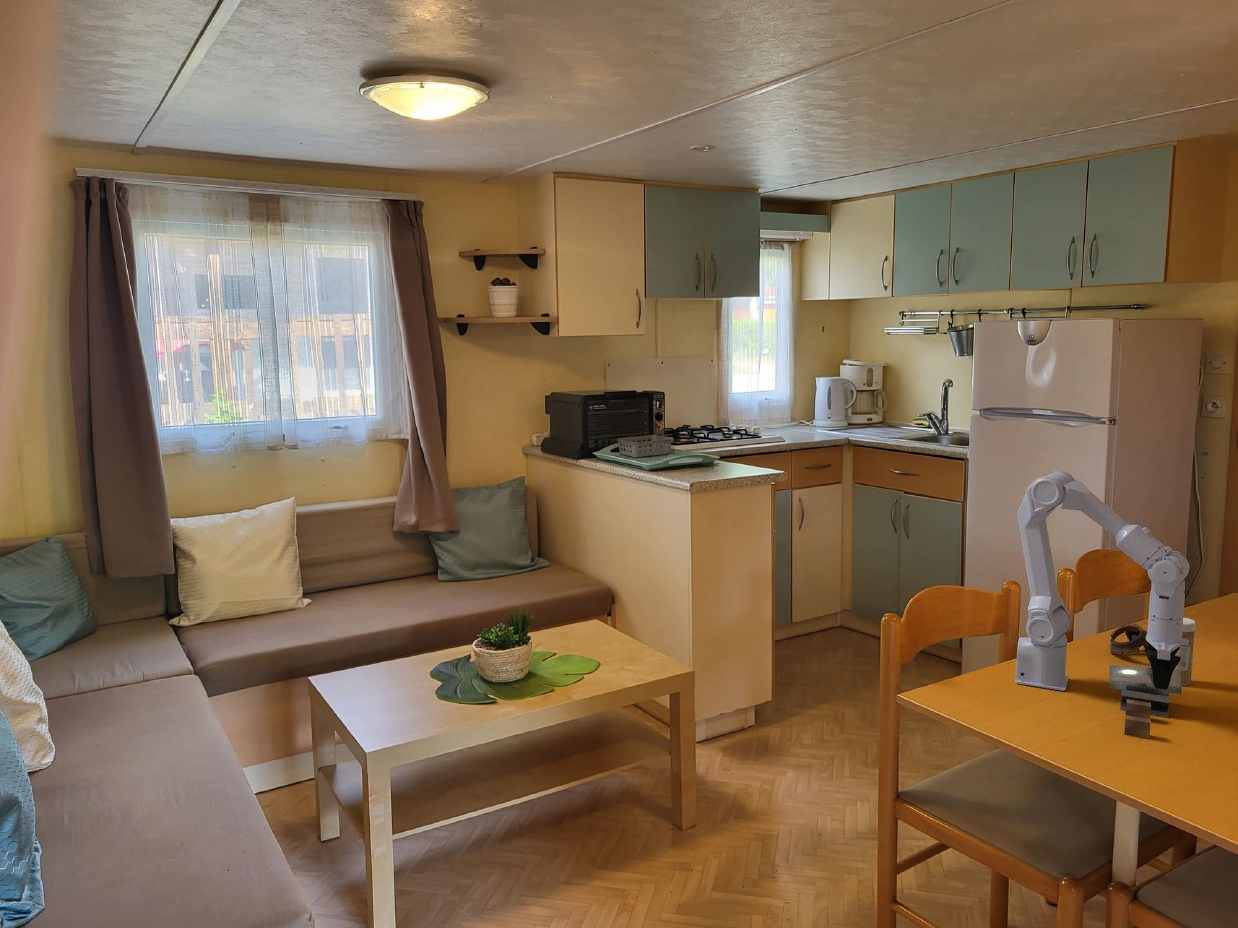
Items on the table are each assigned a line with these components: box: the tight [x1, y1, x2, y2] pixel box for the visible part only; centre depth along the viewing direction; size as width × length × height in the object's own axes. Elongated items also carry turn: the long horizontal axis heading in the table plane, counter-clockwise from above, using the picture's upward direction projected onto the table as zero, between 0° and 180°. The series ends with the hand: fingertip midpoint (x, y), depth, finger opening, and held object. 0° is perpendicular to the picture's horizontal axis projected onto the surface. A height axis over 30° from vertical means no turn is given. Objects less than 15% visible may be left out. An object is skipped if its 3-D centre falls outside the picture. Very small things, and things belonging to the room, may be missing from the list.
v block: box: [1120, 689, 1170, 718], centre depth 181 cm, size 8×8×4 cm
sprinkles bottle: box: [1175, 617, 1197, 687], centre depth 191 cm, size 5×5×14 cm
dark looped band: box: [1109, 623, 1150, 656], centre depth 208 cm, size 12×9×8 cm
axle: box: [1108, 664, 1183, 695], centre depth 181 cm, size 12×5×5 cm, turn 60°
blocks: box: [1123, 699, 1152, 740], centre depth 173 cm, size 4×10×3 cm, turn 150°
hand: (1160, 683), depth 179 cm, fingers closed on axle, 5 cm apart
